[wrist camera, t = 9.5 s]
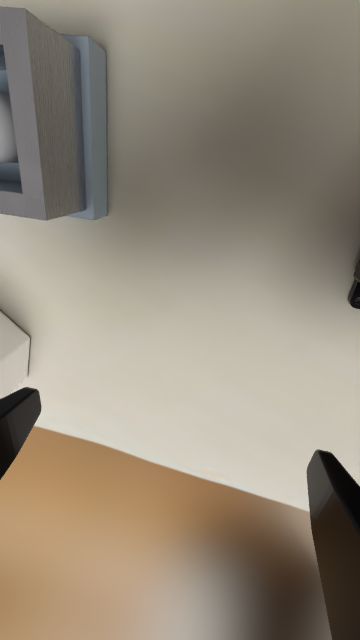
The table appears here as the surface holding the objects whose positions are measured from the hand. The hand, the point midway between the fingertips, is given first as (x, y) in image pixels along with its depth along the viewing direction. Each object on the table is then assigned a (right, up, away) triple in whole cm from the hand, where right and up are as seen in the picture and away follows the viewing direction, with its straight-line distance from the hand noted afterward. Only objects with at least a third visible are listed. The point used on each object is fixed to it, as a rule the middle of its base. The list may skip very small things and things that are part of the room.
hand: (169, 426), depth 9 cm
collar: (-8, +13, +6) cm, 17 cm away
